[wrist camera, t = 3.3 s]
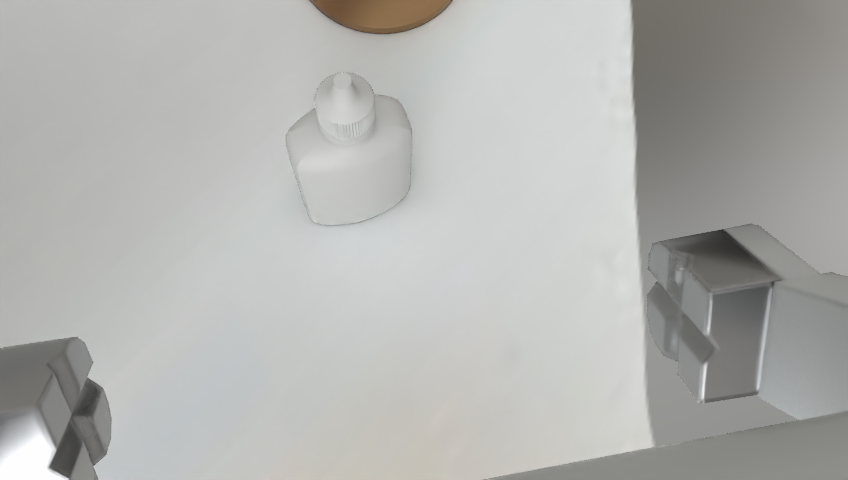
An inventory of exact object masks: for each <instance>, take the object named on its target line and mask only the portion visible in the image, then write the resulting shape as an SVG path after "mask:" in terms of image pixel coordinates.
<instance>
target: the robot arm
mask: <svg viewBox="0 0 848 480" xmlns="http://www.w3.org/2000/svg"><path fill="white" fill-rule="evenodd" d="M648 270H649V271H650V272H651V273H652V275H653V276H654V277H655V278H656V279H657V282H656V283H655V285H654V286H653V287H652V289H651V290H650V292H649V293H648V294H647V319H648V324H649V328H650V333H651V335H652V337H653V339H654V342H655V344H656V345H657V347H658V349H659V350H660V351H661V353H662V354H663V355H664V356H666V357H668V358H670V359H673V360H675V361H677V362H678V370H677V375H678V376H679V377H680V379H681V380H682V381H683V383H684V384H685V385H686V387H687V388H688V389H689V391H690V392H691V393H692V395H693V396H694V397H695V399H696V400H697V401H698V403H699V404H701V403H708V402H714V401H721V400H727V399H733V398H740V397H746V396H753V395H759V396H758V397H759V398H760V399H762V400H764V401H766V402H768V403H770V404H771V405H773V406H775V407H777V408H779V409H780V410H782V411H784V412H786V413H788V414H789V415H791V416H793V417H795V418H797V419H798V420H796V421H791V422H786V423H781V424H775V425H770V426H765V427H759V428H754V429H749V430H744V431H738V432H733V433H727V434H722V435H717V436H711V437H706V438H701V439H696V440H690V441H685V442H680V443H675V444H669V445H664V446H659V447H653V448H648V449H642V450H637V451H632V452H627V453H621V454H616V455H611V456H605V457H600V458H595V459H590V460H584V461H579V462H574V463H568V464H563V465H558V466H552V467H547V468H542V469H537V470H531V471H526V472H521V473H515V474H510V475H505V476H499V477H494V478H489V479H484V480H848V277H847V276H843V275H840V274H836V273H832V272H829V273H823V274H820V273H819V272H817V271H816V270H815V269H814V268H812V267H811V266H810V265H808V264H807V263H806V262H805V261H804V260H802V259H801V258H800V257H799V256H797V255H796V254H795V253H793V252H792V251H791V250H790V249H788V248H787V247H786V246H784V245H783V244H782V243H781V242H779V241H778V240H777V239H776V238H774V237H773V236H772V235H770V234H769V233H768V232H767V231H765V230H764V229H763V228H762V227H760V226H759V225H754V224H747V225H742V226H737V227H732V228H728V229H722V230H717V231H712V232H706V233H701V234H696V235H691V236H685V237H680V238H675V239H670V240H664V241H660V242H656V243H652V246H651V249H650V252H649V260H648ZM92 364H93V361H92V358H91V356H90V354H89V351H88V349H87V347H86V344H85V342H83V341H82V340H81V339H79V338H78V337H71V338H64V339H57V340H51V341H44V342H37V343H30V344H23V345H16V346H9V347H4V348H0V480H98V477H97V475H96V472H95V470H94V467H93V466H94V465H95V464H96V463H97V462H99V461H100V460H101V459H102V458H103V457H104V456H105V455H106V454H107V450H108V447H109V444H110V440H111V414H110V408H109V403H108V400H107V397H106V395H105V392H104V389H103V388H102V387H101V386H99V385H98V384H96V383H95V382H93V381H92V380H90V379H89V378H87V376H88V374H89V371H90V369H91V366H92Z"/></svg>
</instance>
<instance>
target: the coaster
mask: <svg viewBox="0 0 848 480" xmlns="http://www.w3.org/2000/svg"><path fill="white" fill-rule="evenodd" d="M310 1H311V2H312V3H313V4H314V5H315V6H316V7H317V8H318V9H319V10H320V11H321V12H322V13H323V14H325V15H326V16H327V17H329V18H330V19H332V20H334V21H335V22H337V23H339V24H341V25H343V26H346V27H349V28H351V29H354V30H358V31H363V32H369V33H395V32H401V31H405V30H409V29H413V28H415V27H418V26H420V25H422V24H424V23H426V22H428V21H430V20H432V19H433V18H434V17H436V16H437V15H439V14H440V13H441V12H442V11H443V10H444V9H445V8H446V7H447V6H448V5H449V4H450V3H451V1H452V0H310Z"/></svg>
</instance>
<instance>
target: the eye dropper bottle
mask: <svg viewBox="0 0 848 480" xmlns="http://www.w3.org/2000/svg"><path fill="white" fill-rule="evenodd" d="M314 101H315V108H314V109H313V110H311V111H310V112H308V113H307V114H305V115H304V116H303V117H302V118H300V119H299V120H298V121H297V122H296V123H295V124H294V125H293V126H292V127H291V128H290V129H289V130H288V132H287V134H286V146H287V150H288V154H289V157H290V160H291V164H292V167H293V170H294V173H295V176H296V180H297V183H298V186H299V189H300V192H301V195H302V198H303V201H304V204H305V207H306V210H307V213H308V215H309V217H310V218H311V220H312V221H314V222H316V223H318V224H325V225H343V224H351V223H356V222H360V221H364V220H367V219H370V218H373V217H375V216H377V215H379V214H381V213H383V212H385V211H387V210H388V209H390V208H391V207H393V206H394V205H396V204H397V203H398V202H399V201H401V200H402V199H403V198H404V197H405V196H406V195H407V193H408V191H409V188H410V175H411V159H412V129H411V125H410V122H409V120H408V117H407V114H406V112H405V110H404V107H403V105H402V104H401V103H400V102H399V101H398V100H397V99H395V98H392V97H388V96H383V95H374V92H373V89H372V87H371V86H370V84H368V82H366V80H364V78H362V77H360V76H359V75H356V74H353V73H347V72H346V73H345V72H343V73H337V74H334V75H331V76H329V77H328V78H326V79H324V81H322V83H321V84H320V85H319V86H318V88H317V91H316V94H315V100H314Z"/></svg>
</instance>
